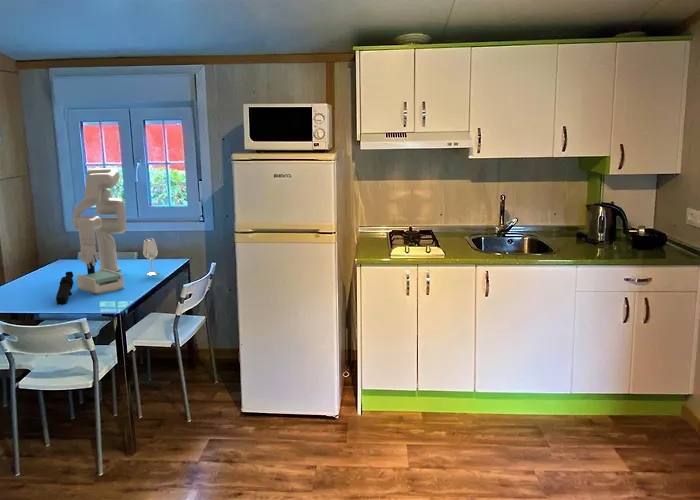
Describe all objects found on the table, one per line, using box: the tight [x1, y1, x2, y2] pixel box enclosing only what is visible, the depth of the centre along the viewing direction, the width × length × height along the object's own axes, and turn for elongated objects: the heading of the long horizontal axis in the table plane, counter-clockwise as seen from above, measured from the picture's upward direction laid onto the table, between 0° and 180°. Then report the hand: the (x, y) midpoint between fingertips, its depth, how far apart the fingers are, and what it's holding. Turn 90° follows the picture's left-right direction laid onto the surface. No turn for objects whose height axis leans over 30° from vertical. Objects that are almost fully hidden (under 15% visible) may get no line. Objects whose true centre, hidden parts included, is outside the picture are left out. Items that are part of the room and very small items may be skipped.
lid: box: [82, 271, 119, 284], centre depth 314 cm, size 16×13×2 cm
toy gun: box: [55, 271, 75, 306], centre depth 298 cm, size 6×25×10 cm, turn 14°
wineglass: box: [142, 238, 160, 276], centre depth 343 cm, size 8×8×20 cm
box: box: [76, 269, 125, 296], centre depth 315 cm, size 20×15×8 cm
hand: (91, 275), depth 321 cm, fingers closed
